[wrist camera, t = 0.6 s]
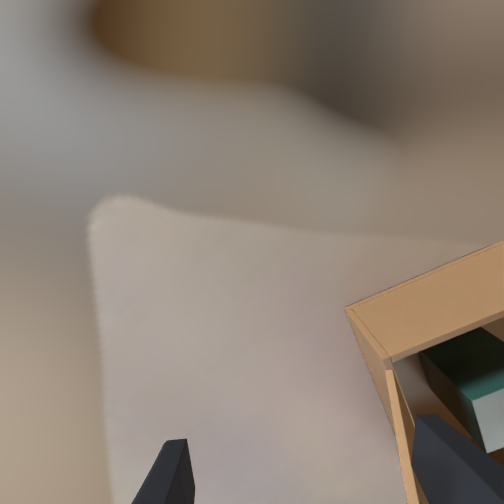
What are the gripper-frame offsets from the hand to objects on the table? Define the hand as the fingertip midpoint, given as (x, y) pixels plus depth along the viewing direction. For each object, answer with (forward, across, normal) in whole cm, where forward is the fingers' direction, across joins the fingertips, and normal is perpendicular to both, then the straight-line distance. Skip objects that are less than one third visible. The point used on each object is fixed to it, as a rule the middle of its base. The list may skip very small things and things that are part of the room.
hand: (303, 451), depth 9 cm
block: (+10, -12, +5) cm, 16 cm away
